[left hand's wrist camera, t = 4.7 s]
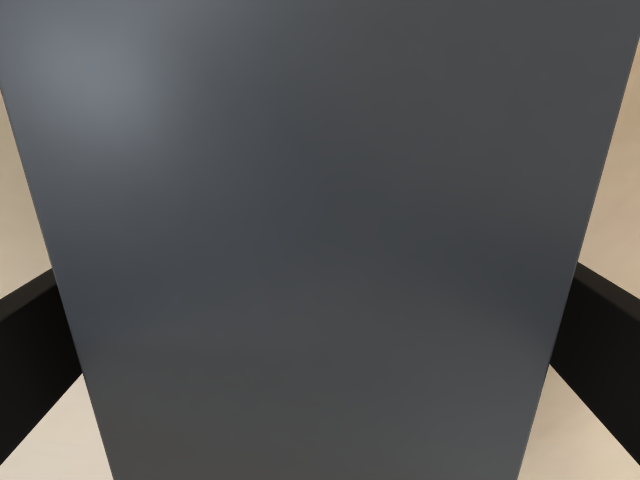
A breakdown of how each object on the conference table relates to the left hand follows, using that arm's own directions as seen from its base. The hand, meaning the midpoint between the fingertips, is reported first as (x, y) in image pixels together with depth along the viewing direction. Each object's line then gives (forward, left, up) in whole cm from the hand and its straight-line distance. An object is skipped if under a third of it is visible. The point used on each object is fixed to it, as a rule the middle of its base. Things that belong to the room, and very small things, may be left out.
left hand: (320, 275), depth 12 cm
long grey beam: (+8, +26, -2) cm, 27 cm away
